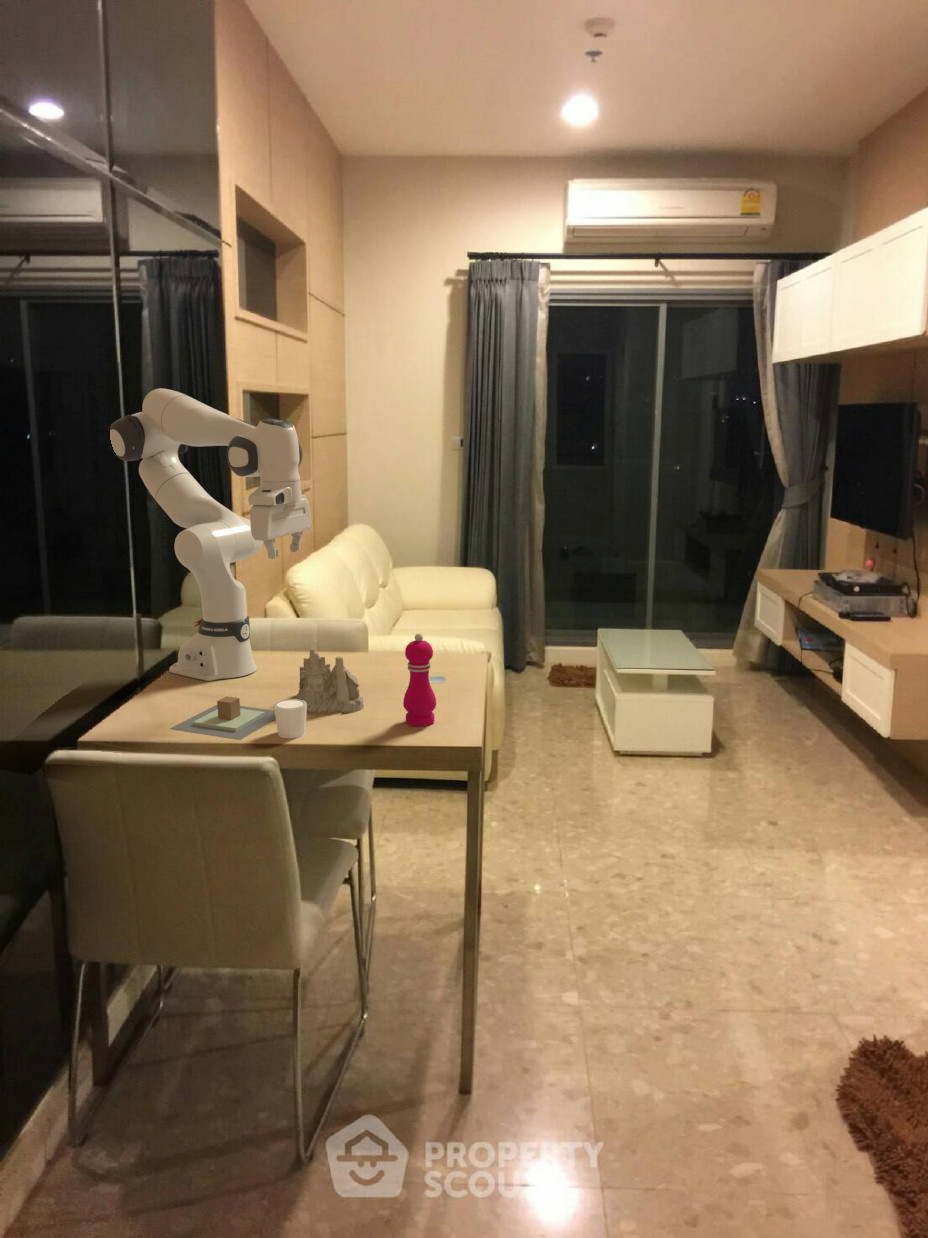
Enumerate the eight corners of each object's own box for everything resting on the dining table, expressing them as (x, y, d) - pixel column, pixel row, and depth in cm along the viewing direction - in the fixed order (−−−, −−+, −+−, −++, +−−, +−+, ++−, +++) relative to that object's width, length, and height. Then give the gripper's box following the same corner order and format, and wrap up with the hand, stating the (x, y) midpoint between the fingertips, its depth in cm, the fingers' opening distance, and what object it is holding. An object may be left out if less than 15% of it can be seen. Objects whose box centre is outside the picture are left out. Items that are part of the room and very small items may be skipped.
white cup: (277, 730, 198) (275, 699, 196) (309, 728, 198) (308, 698, 196) (273, 741, 191) (271, 709, 189) (306, 740, 191) (305, 708, 190)
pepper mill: (410, 729, 197) (408, 639, 193) (399, 719, 204) (397, 631, 199) (441, 724, 200) (440, 635, 195) (429, 714, 207) (428, 628, 202)
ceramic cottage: (361, 714, 207) (357, 648, 204) (288, 716, 207) (283, 651, 205) (369, 696, 222) (365, 634, 220) (301, 698, 223) (297, 637, 220)
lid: (193, 725, 199) (191, 704, 198) (223, 709, 209) (222, 689, 208) (236, 731, 195) (234, 710, 194) (265, 715, 205) (264, 694, 204)
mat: (169, 730, 197) (169, 728, 197) (220, 704, 214) (220, 702, 214) (240, 741, 191) (240, 739, 191) (287, 714, 207) (287, 712, 207)
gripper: (293, 488, 216) (295, 547, 219) (243, 497, 198) (247, 561, 201) (316, 489, 214) (319, 548, 217) (269, 498, 195) (272, 563, 199)
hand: (284, 554), depth 209 cm, fingers open, 8 cm apart
